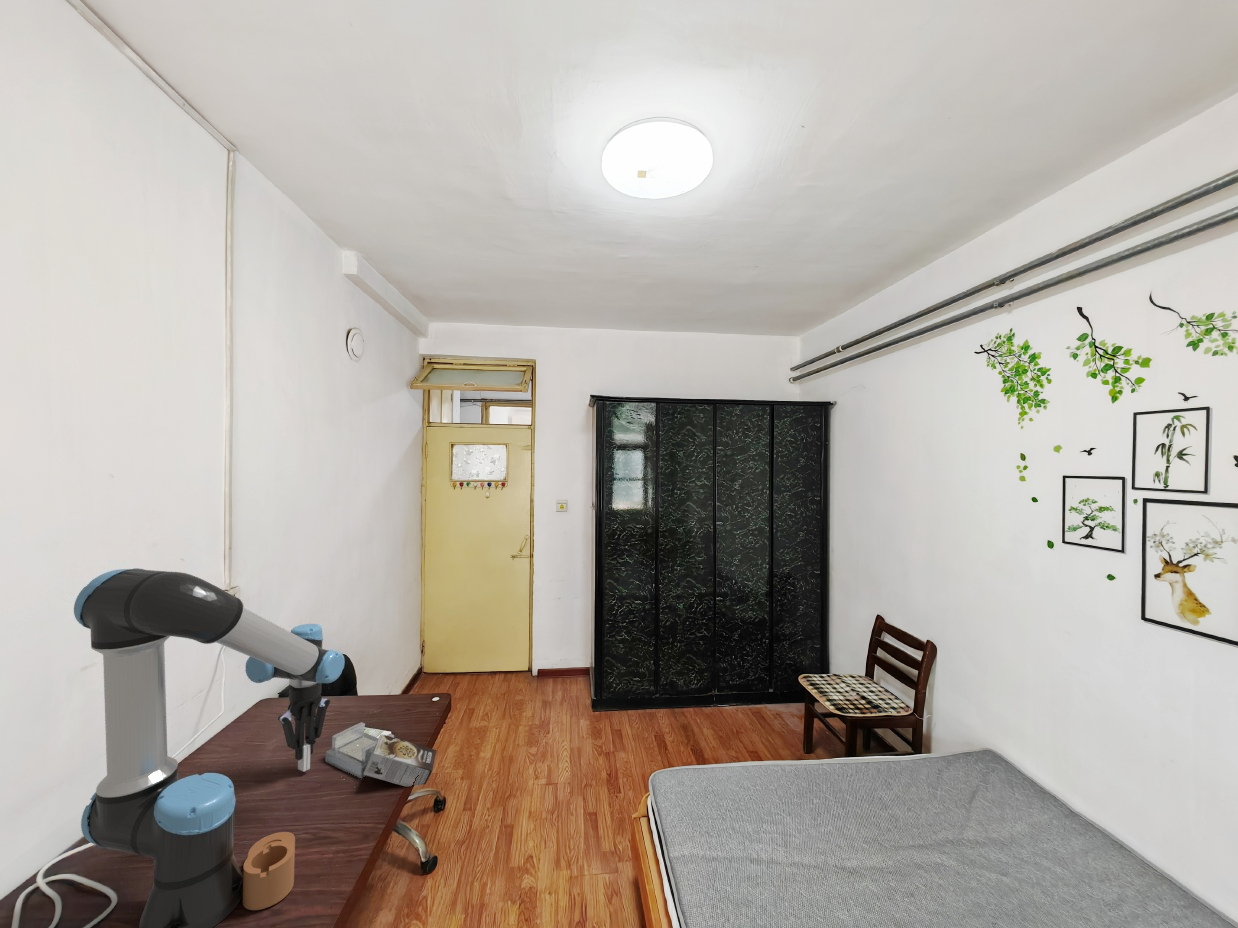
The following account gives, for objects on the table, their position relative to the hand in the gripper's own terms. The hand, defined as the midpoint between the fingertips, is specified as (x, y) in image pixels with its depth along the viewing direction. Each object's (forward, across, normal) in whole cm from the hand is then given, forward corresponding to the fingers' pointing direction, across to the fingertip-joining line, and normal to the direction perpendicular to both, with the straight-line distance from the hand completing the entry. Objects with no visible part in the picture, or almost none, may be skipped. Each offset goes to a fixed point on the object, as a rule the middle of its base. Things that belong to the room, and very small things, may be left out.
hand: (303, 768), depth 137 cm
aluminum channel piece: (+1, +12, -8) cm, 14 cm away
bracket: (+2, -23, -28) cm, 36 cm away
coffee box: (-6, +6, -19) cm, 21 cm away
